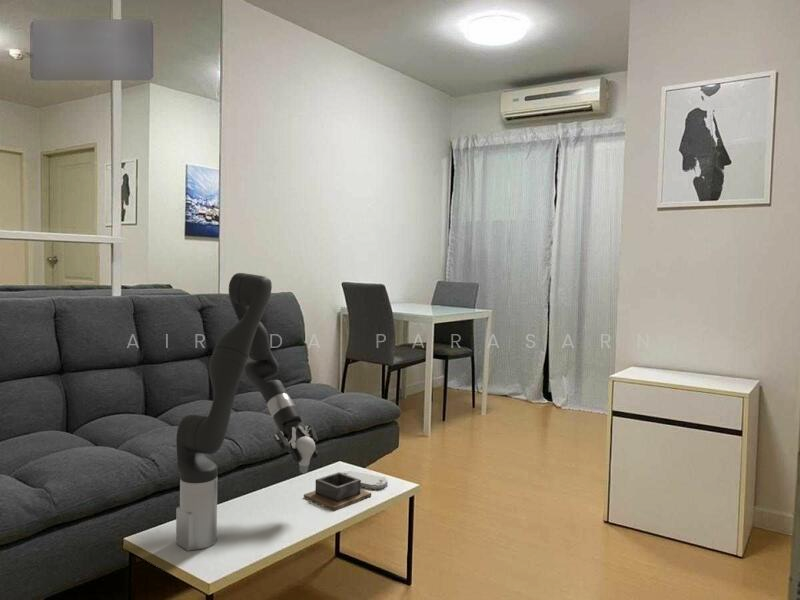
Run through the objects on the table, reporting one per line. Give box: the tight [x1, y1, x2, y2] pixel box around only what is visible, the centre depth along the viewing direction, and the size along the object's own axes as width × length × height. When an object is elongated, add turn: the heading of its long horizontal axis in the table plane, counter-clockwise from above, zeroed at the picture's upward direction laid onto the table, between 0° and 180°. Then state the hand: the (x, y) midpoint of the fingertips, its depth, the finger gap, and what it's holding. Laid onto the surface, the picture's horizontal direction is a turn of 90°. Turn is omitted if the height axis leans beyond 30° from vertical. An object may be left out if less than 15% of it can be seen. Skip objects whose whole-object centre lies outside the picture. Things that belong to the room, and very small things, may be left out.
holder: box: [303, 472, 372, 511], centre depth 192 cm, size 16×14×6 cm
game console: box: [340, 470, 388, 490], centre depth 206 cm, size 18×2×8 cm
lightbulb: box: [295, 436, 316, 474], centre depth 181 cm, size 6×6×11 cm
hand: (307, 458), depth 180 cm, fingers closed on lightbulb, 5 cm apart
